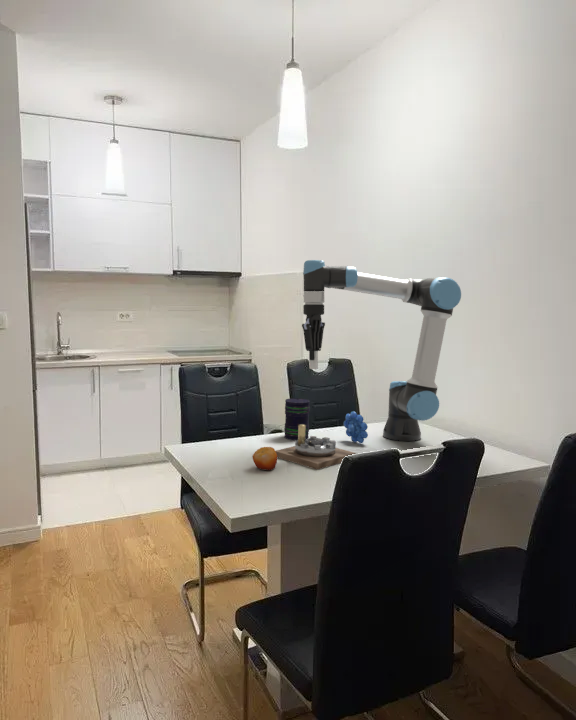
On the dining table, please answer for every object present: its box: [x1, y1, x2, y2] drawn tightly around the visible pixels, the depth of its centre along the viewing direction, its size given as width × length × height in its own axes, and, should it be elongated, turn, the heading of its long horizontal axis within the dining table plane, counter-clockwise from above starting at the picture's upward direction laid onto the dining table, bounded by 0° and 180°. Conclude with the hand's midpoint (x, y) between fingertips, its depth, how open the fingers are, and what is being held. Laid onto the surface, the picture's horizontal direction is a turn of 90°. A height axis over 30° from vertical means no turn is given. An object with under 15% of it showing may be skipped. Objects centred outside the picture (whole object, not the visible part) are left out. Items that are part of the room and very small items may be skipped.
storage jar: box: [283, 397, 311, 441], centre depth 224 cm, size 10×10×15 cm
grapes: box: [343, 410, 369, 444], centre depth 219 cm, size 12×7×12 cm, turn 44°
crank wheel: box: [294, 424, 337, 457], centre depth 196 cm, size 14×14×10 cm
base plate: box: [275, 445, 356, 471], centre depth 197 cm, size 20×20×2 cm
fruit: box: [251, 446, 278, 471], centre depth 183 cm, size 8×8×8 cm
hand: (313, 368), depth 206 cm, fingers closed
